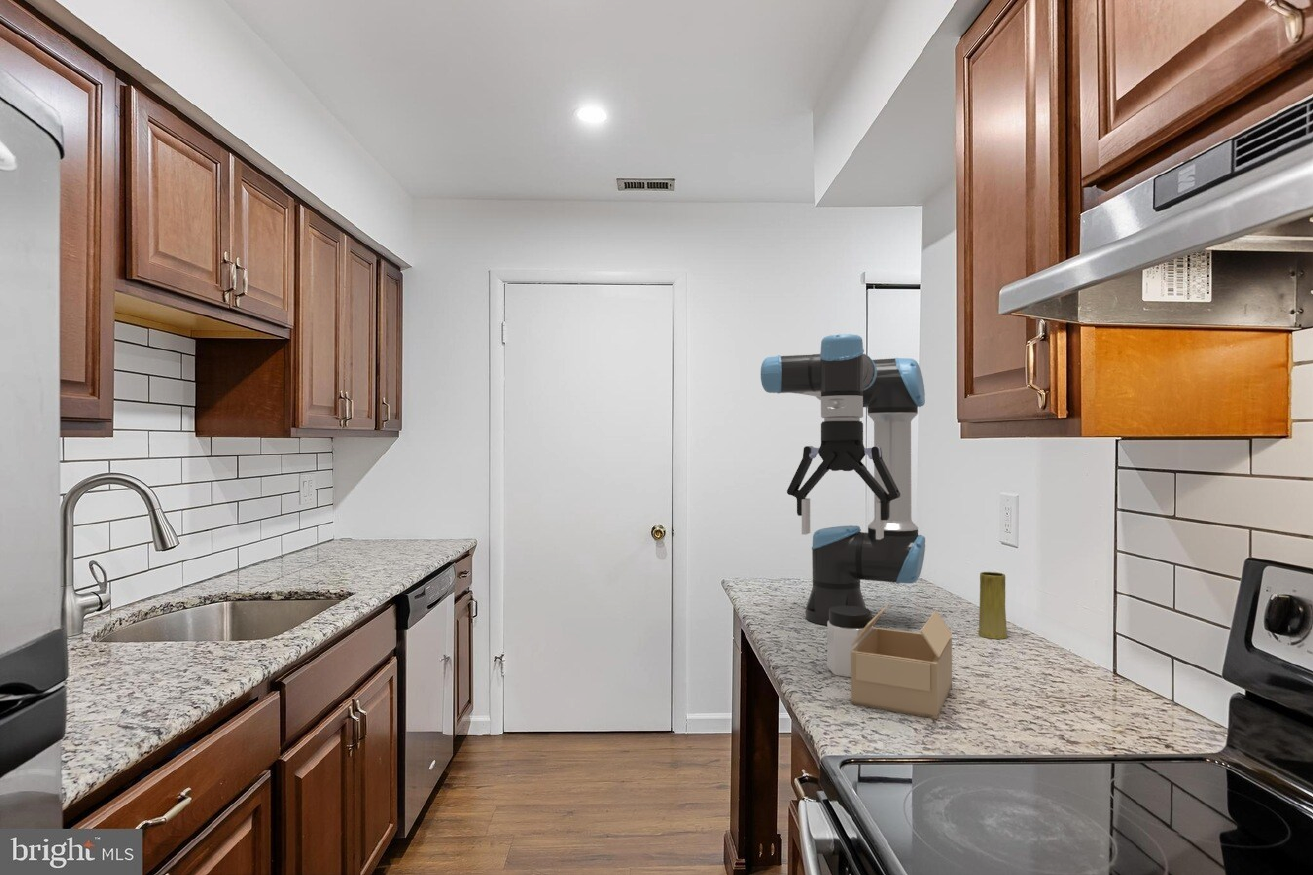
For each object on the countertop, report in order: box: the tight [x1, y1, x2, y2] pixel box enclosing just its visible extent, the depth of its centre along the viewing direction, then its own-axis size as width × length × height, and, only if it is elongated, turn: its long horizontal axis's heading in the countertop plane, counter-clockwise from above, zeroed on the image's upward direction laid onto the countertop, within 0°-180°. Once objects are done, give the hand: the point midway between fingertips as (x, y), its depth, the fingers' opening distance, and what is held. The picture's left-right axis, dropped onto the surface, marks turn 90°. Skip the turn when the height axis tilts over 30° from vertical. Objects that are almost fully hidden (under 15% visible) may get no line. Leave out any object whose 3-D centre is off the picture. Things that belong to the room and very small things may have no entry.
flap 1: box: [851, 604, 889, 646], centre depth 133 cm, size 16×5×1 cm
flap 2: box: [919, 609, 953, 658], centre depth 127 cm, size 16×5×1 cm
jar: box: [826, 606, 875, 678], centre depth 143 cm, size 9×8×12 cm
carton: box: [850, 627, 953, 720], centre depth 130 cm, size 19×14×9 cm
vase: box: [978, 571, 1008, 640], centre depth 168 cm, size 6×6×14 cm
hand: (842, 536), depth 134 cm, fingers open, 13 cm apart
